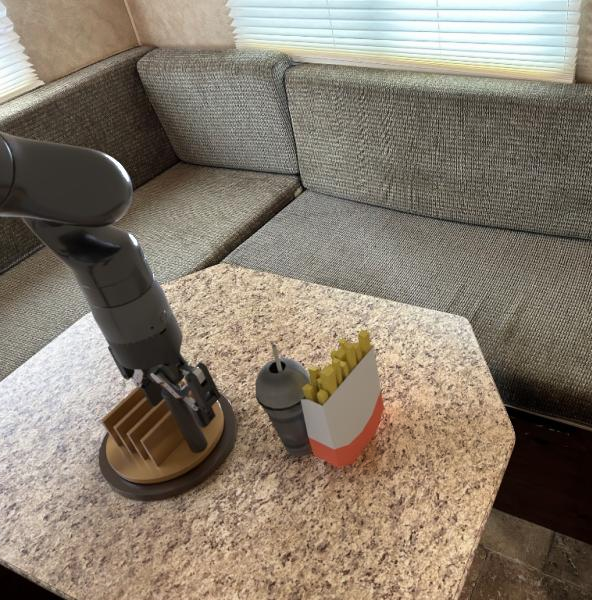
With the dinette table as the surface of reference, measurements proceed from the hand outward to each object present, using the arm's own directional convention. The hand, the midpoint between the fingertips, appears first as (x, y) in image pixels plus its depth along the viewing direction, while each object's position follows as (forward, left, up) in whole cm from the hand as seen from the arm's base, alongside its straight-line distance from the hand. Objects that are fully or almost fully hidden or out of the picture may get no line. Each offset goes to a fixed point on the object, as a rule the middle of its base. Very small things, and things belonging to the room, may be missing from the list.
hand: (182, 411), depth 78 cm
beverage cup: (+11, -8, -10) cm, 17 cm away
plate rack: (-2, +6, -8) cm, 10 cm away
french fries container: (+16, -13, -10) cm, 23 cm away
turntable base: (-2, +6, -10) cm, 12 cm away
